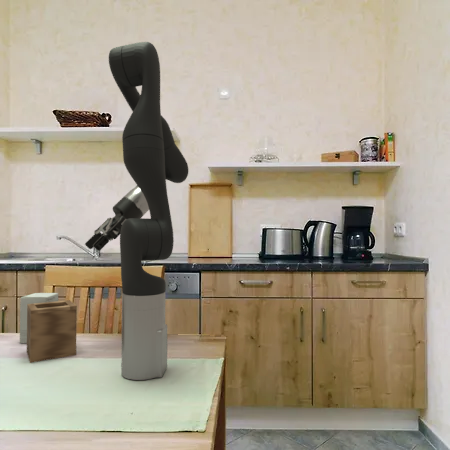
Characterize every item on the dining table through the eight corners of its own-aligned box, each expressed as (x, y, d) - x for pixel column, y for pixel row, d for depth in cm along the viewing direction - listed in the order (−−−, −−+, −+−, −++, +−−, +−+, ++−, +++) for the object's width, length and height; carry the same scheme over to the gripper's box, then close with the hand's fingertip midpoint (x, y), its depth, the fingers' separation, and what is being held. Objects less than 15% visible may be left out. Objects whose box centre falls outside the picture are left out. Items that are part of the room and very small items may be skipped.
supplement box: (46, 344, 98) (46, 297, 98) (18, 343, 98) (19, 296, 99) (58, 336, 106) (59, 292, 106) (33, 335, 106) (34, 292, 106)
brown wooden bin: (69, 345, 97) (69, 300, 97) (76, 354, 90) (76, 305, 90) (26, 351, 92) (27, 304, 92) (30, 362, 84) (30, 310, 84)
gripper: (116, 197, 107) (75, 237, 101) (133, 194, 96) (87, 238, 89) (133, 216, 110) (94, 255, 104) (152, 214, 98) (109, 259, 92)
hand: (91, 247), depth 96 cm, fingers open, 8 cm apart
